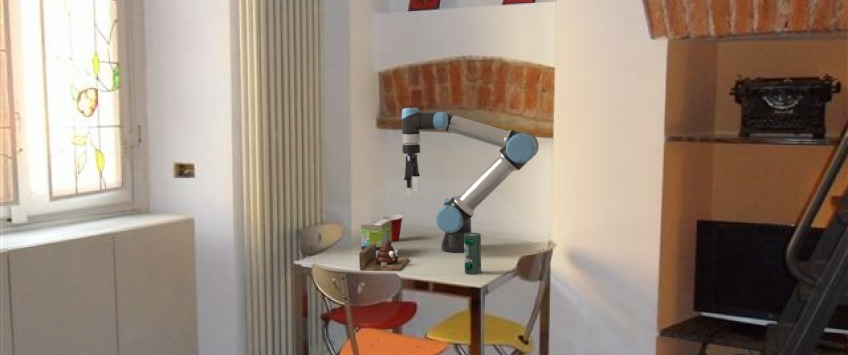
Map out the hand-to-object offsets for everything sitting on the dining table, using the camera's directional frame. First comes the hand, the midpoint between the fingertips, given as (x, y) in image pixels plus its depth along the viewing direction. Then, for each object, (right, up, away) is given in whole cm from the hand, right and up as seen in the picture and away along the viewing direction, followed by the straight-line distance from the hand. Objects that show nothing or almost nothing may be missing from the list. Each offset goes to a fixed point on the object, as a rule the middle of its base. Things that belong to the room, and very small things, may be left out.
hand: (412, 193), depth 321 cm
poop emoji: (-10, -28, -18) cm, 35 cm away
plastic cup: (-10, -24, +36) cm, 44 cm away
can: (+24, -30, -35) cm, 52 cm away
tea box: (-15, -27, +3) cm, 31 cm away
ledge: (-11, -29, -18) cm, 36 cm away
